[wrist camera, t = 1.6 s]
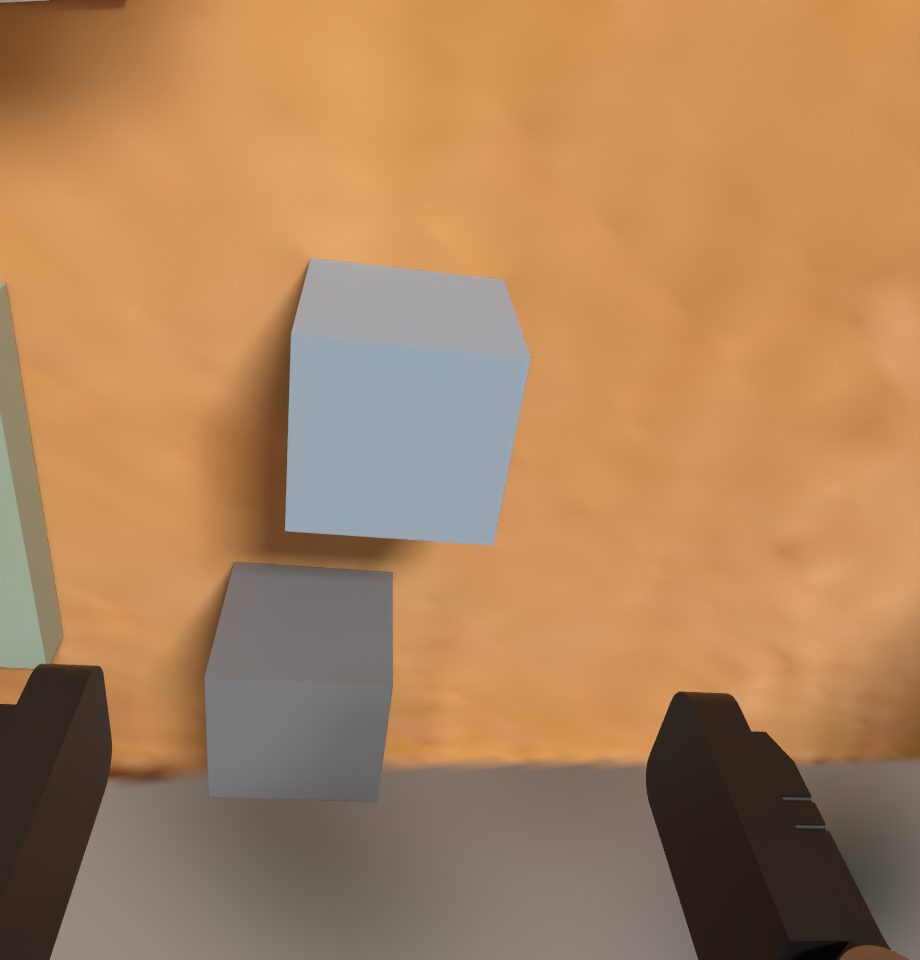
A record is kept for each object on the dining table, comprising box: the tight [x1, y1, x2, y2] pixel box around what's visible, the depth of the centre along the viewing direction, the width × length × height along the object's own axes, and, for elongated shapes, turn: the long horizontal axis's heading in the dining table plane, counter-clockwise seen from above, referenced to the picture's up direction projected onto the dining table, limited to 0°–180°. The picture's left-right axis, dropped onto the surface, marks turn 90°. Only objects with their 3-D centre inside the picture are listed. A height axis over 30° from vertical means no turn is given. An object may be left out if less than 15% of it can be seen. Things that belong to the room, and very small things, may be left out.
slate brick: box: [204, 562, 393, 802], centre depth 25 cm, size 5×5×5 cm
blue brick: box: [285, 258, 531, 545], centre depth 20 cm, size 5×5×5 cm
